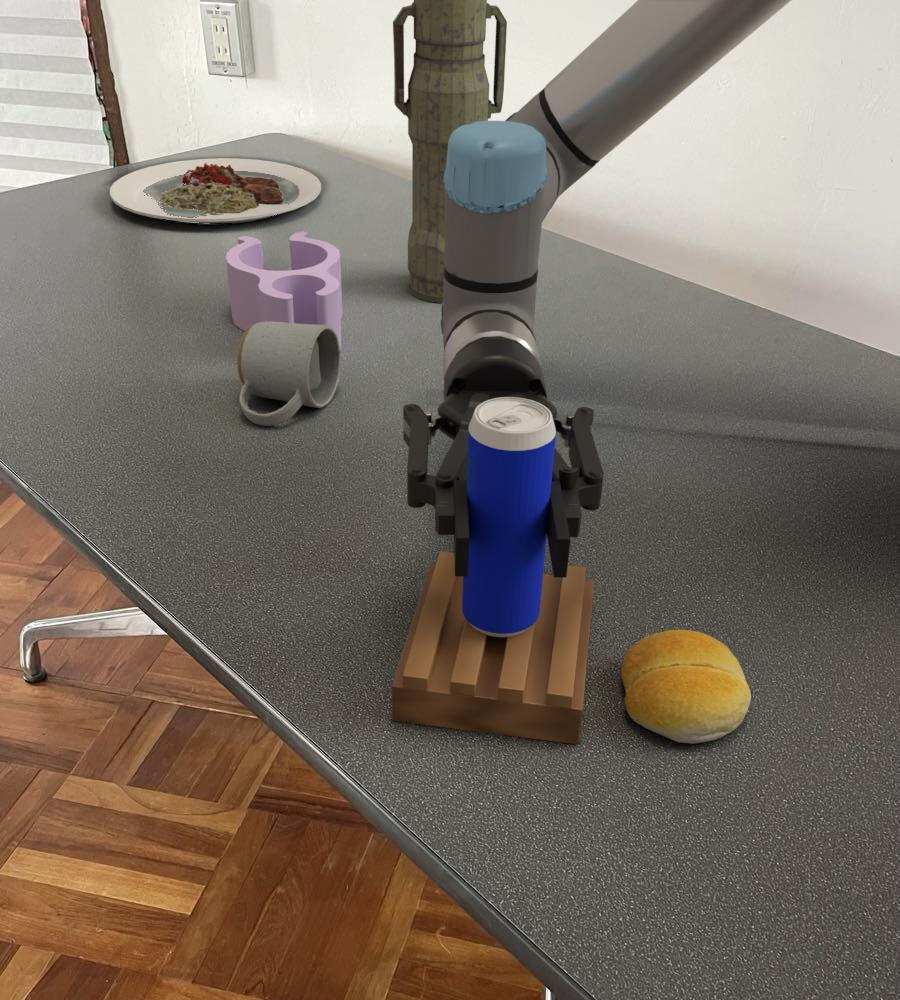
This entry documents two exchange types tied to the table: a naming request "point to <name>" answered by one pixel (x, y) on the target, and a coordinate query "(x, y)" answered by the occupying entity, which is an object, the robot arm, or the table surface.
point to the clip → (286, 284)
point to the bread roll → (684, 686)
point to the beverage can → (507, 513)
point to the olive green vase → (442, 113)
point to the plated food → (215, 190)
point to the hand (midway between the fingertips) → (512, 557)
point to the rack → (496, 662)
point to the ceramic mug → (288, 367)
